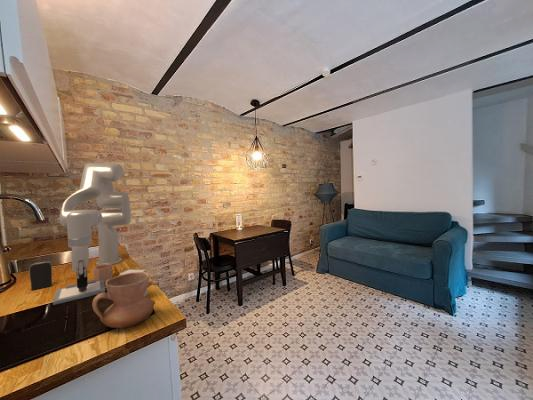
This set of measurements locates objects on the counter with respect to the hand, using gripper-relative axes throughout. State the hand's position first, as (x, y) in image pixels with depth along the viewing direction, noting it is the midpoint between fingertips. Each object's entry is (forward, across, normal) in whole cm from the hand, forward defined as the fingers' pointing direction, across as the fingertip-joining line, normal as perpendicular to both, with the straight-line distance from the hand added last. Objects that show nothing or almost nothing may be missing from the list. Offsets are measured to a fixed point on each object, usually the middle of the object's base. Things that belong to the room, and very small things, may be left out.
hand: (82, 284), depth 93 cm
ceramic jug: (+4, +34, +12) cm, 36 cm away
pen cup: (+4, -15, +7) cm, 17 cm away
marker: (+2, 0, 0) cm, 2 cm away
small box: (+4, +17, +16) cm, 24 cm away
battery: (+4, -21, -15) cm, 26 cm away
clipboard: (+4, -3, -1) cm, 5 cm away
